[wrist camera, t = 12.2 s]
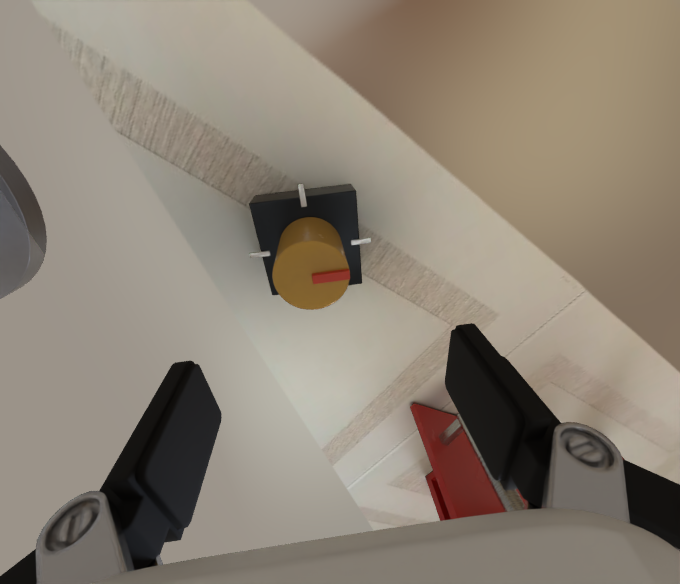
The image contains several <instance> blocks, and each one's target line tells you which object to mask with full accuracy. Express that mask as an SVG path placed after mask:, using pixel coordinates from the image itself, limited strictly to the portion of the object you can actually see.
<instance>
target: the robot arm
mask: <svg viewBox="0 0 680 584" xmlns="http://www.w3.org/2000/svg"><path fill="white" fill-rule="evenodd" d="M445 385H446V389H447V391H448V393H449V395H450V397H451V399H452V400H453V402H454V404H455V406H456V408H457V410H458V412H459V414H460V416H461V418H462V420H463V422H464V424H465V425H466V427H467V429H468V431H469V433H470V435H471V437H472V439H473V441H474V443H475V445H476V447H477V449H478V451H479V452H480V454H481V456H482V458H483V460H484V462H485V464H486V466H487V468H488V470H489V472H490V474H491V475H492V477H493V478H494V479H495V480H496V481H498V480H499V481H500V483H501V485H502V487H503V489H504V490H505V491H507V490H514V489H518V490H519V492H520V494H521V495H522V497H523V498H524V499H525V506H524V510H517V511H510V512H502V513H494V514H486V515H478V516H470V517H463V518H457V519H450V520H443V521H436V522H430V523H423V524H416V525H410V526H403V527H396V528H389V529H383V530H376V531H370V532H363V533H357V534H350V535H344V536H337V537H331V538H324V539H318V540H311V541H305V542H298V543H292V544H285V545H279V546H273V547H266V548H261V549H254V550H248V551H242V552H235V553H229V554H223V555H216V556H210V557H204V558H198V559H192V560H187V561H181V562H176V563H170V564H164V565H163V563H162V560H161V557H160V553H161V550H162V547H163V544H164V542H171V541H177V540H181V537H182V534H183V531H184V528H186V527H188V525H189V524H190V522H191V519H192V516H193V513H194V510H195V506H196V502H197V500H198V496H199V493H200V490H201V486H202V483H203V480H204V476H205V473H206V469H207V466H208V462H209V459H210V456H211V453H212V450H213V446H214V443H215V440H216V436H217V433H218V429H219V426H220V423H221V411H220V409H219V407H218V405H217V403H216V400H215V398H214V396H213V394H212V392H211V390H210V387H209V385H208V383H207V381H206V379H205V377H204V375H203V373H202V370H201V368H200V366H199V365H198V364H194V362H192V361H186V362H178V363H174V364H173V365H172V366H171V368H170V370H169V371H168V373H167V375H166V376H165V378H164V380H163V382H162V383H161V385H160V387H159V389H158V390H157V392H156V394H155V396H154V397H153V399H152V401H151V402H150V404H149V406H148V408H147V409H146V411H145V413H144V414H143V416H142V418H141V420H140V421H139V423H138V425H137V426H136V428H135V430H134V432H133V433H132V435H131V437H130V439H129V440H128V442H127V444H126V446H125V447H124V449H123V451H122V453H121V454H120V456H119V458H118V460H117V461H116V463H115V465H114V466H113V468H112V470H111V472H110V473H109V475H108V477H107V479H106V480H105V482H104V484H103V486H102V487H101V489H100V491H90V492H87V493H84V494H81V495H79V496H77V497H76V498H74V499H72V500H70V501H69V502H68V503H66V504H65V505H64V506H62V507H61V508H60V509H59V510H58V511H57V512H56V513H55V514H54V515H53V516H52V517H51V518H50V519H49V521H48V522H47V523H46V525H45V526H44V528H43V529H42V531H41V533H40V535H39V537H38V539H37V544H36V549H35V550H34V551H32V552H31V553H30V554H29V555H27V556H26V557H25V558H23V559H22V560H21V561H20V562H18V563H17V564H16V565H14V566H13V567H12V568H11V569H9V570H8V571H7V572H5V573H4V574H3V575H2V576H0V584H680V485H679V484H677V483H675V482H672V481H670V480H668V479H666V478H664V477H661V476H659V475H657V474H655V473H652V472H650V471H648V470H646V469H644V468H641V467H639V466H637V465H635V464H632V463H630V462H628V461H626V460H624V459H622V457H621V454H620V452H619V450H618V449H617V447H616V446H615V445H614V444H613V443H612V442H611V441H610V440H609V439H608V438H607V437H606V436H605V435H603V434H602V433H600V432H599V431H597V430H595V429H593V428H591V427H589V426H587V425H583V424H580V423H575V422H566V423H561V422H560V421H559V420H558V419H557V418H556V417H555V415H554V414H553V413H552V412H551V411H550V409H549V408H548V407H547V406H546V405H545V404H544V402H543V401H542V400H541V399H540V398H539V396H538V395H537V394H536V393H535V392H534V391H533V389H532V388H531V387H530V386H529V385H528V383H527V382H526V381H525V380H524V379H523V377H522V376H521V375H520V374H519V373H518V372H517V370H516V369H515V368H514V367H513V366H512V364H511V363H510V362H509V361H508V360H507V359H506V358H505V357H503V356H501V355H500V354H499V353H498V352H497V351H496V349H495V348H494V347H493V346H492V345H491V343H490V342H489V341H488V340H487V339H486V337H485V336H484V335H483V334H482V333H481V331H480V330H479V329H478V328H477V327H476V325H475V324H472V323H471V324H464V325H457V326H456V328H455V330H452V331H451V337H450V345H449V353H448V361H447V368H446V376H445Z"/></svg>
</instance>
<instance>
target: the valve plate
mask: <svg viewBox="0 0 680 584" xmlns="http://www.w3.org/2000/svg"><path fill="white" fill-rule="evenodd" d="M298 189H299V190H297V191H289V192H280V193H272V194H264V195H256V196H255V197H254V198H253V199H252V201H251V202H250V203H249V206H250V209H251V213H252V217H253V221H254V225H255V229H256V233H257V237H258V241H259V245H260V249H261V252H253V253H249V255H250V258H257V257H263V261H264V264H265V268H266V272H267V276H268V280H269V284H270V288H271V292H272V295H279V293H278V292H277V290H276V288H275V286H274V283H273V278H272V272H273V266H274V262H275V258H276V254H277V250H278V245H279V241H280V238H281V235H282V233H283V231H284V230H285V228H286V227H287V226H288V225H289V224H291V223H292V222H294V221H296V220H298V219H301V218H305V217H315V218H320V219H322V220H325V221H327V222H328V223H330V224H331V225H332V226H333V227H334V228H335V229H336V231H337V232H338V234H339V236H340V239H341V242H342V245H343V249H344V252H345V256H346V259H347V262H348V266H349V270H350V279H349V284H348V285H354V284H361V283H362V274H361V259H360V244H365V243H371V238H370V237H369V238H361V239H359V229H358V214H357V199H356V190H355V189H354V188H353V186H352V185H351V184H346V185H338V186H330V187H321V188H313V189H305V190H304V184H298Z"/></svg>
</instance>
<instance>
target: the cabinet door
mask: <svg viewBox="0 0 680 584" xmlns="http://www.w3.org/2000/svg"><path fill="white" fill-rule="evenodd" d="M410 408H411V411H412V414H413V416H414V419H415V422H416V425H417V427H418V430H419V433H420V436H421V438H422V441H423V444H424V447H425V449H426V452H427V455H428V457H429V460H430V463H431V466H432V468H433V471H434V474H435V477H436V479H437V482H438V485H439V488H440V490H441V493H442V496H443V499H444V501H445V504H446V507H447V509H448V512H449V515H450V518H451V519H457V518H463V517H470V516H478V515H486V514H494V513H502V512H510V511H517V510H524V506H525V499H524V498H523V497H522V495H521V494H520V492H519V490H518V489H514V490H507V491H505V490H504V489H503V487H502V485H501V483H500V481H499V480H498V481H496V480H495V479H494V478H493V477H492V475H491V474H490V472H489V470H488V468H487V466H486V464H485V462H484V460H483V458H482V456H481V454H480V452H479V451H478V449H477V447H476V445H475V443H474V441H473V439H472V437H471V435H470V433H469V431H468V429H467V427H466V425H465V424H464V422H463V420H462V418H461V416H460V414H459V413H458V414H457V416H455V415H451V414H448V413H445V412H442V411H438V410H435V409H432V408H428V407H425V406H422V405H418V404H415V403H413V405H412V406H411V407H410Z"/></svg>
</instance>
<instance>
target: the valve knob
mask: <svg viewBox="0 0 680 584" xmlns="http://www.w3.org/2000/svg"><path fill="white" fill-rule="evenodd" d="M272 278H273V283H274V286H275V288H276V290H277V292H278V293H279V295H280V296H281V297H282V298H283V299H284V300H285V301H286V302H288V303H289V304H291V305H293V306H295V307H298V308H302V309H311V310H313V309H320V308H324V307H327V306H329V305H331V304H333V303H334V302H336V301H337V300H338V299H339V298H340V297H341V296H342V295H343V294H344V292H345V291H346V289H347V287H348V284H349V279H350V270H349V266H348V262H347V259H346V256H345V252H344V249H343V245H342V242H341V239H340V236H339V234H338V232H337V231H336V229H335V228H334V227H333V226H332V225H331V224H330V223H328V222H327V221H325V220H322V219H320V218H315V217H305V218H301V219H298V220H296V221H294V222H292V223H291V224H289V225H288V226H287V227H286V228H285V230H284V231H283V233H282V235H281V238H280V241H279V245H278V250H277V254H276V258H275V262H274V266H273V272H272Z"/></svg>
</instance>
